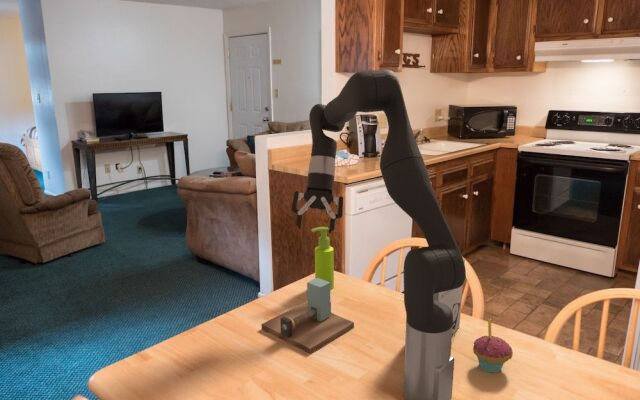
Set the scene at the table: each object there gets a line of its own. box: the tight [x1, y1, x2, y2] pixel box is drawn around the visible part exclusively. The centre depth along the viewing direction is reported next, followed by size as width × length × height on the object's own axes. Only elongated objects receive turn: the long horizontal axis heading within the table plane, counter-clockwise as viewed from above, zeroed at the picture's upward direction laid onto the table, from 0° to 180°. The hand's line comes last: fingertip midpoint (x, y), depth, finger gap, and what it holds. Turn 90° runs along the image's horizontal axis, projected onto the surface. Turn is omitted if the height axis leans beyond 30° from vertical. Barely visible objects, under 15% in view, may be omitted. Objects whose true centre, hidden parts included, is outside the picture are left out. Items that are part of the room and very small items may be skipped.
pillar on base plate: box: [261, 301, 355, 355], centre depth 130 cm, size 18×17×6 cm
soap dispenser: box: [310, 226, 335, 291], centre depth 152 cm, size 6×7×20 cm
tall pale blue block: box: [306, 277, 332, 322], centre depth 132 cm, size 5×4×10 cm
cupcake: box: [472, 315, 513, 374], centre depth 111 cm, size 9×8×12 cm
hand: (314, 231), depth 135 cm, fingers open, 8 cm apart
